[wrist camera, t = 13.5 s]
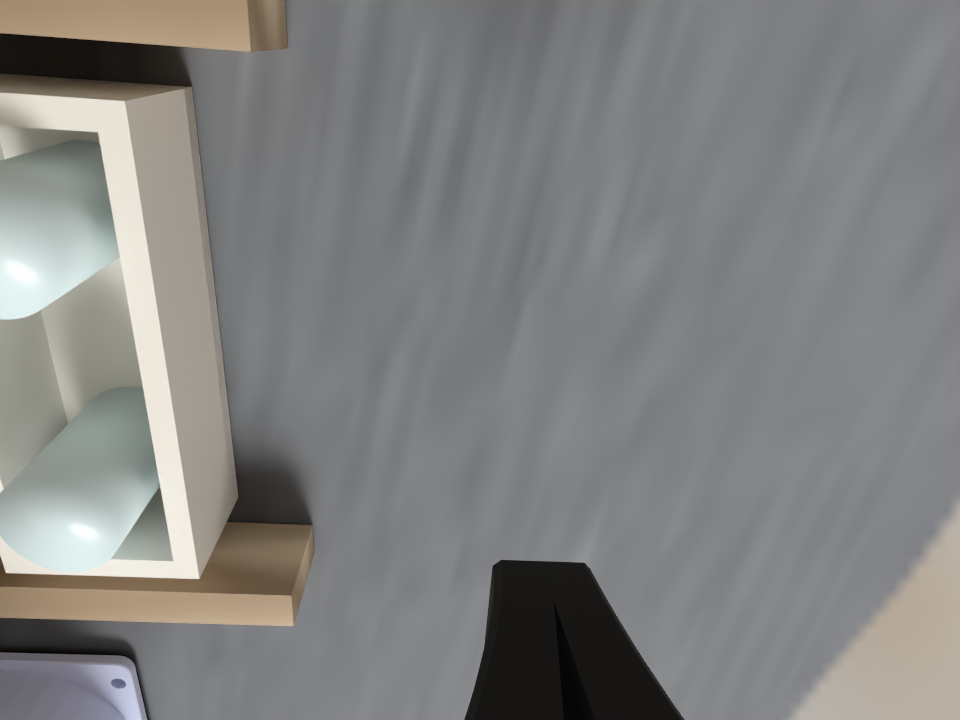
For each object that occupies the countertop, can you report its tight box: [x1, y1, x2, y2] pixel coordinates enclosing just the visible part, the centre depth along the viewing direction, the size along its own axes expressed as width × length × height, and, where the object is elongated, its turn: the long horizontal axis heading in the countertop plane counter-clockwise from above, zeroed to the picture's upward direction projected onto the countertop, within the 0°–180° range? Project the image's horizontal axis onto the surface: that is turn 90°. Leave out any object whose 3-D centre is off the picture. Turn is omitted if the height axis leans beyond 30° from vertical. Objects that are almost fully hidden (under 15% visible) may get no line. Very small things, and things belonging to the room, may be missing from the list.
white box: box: [0, 74, 238, 579], centre depth 16 cm, size 12×5×5 cm, turn 176°
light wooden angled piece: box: [0, 0, 314, 626], centre depth 16 cm, size 16×13×5 cm
